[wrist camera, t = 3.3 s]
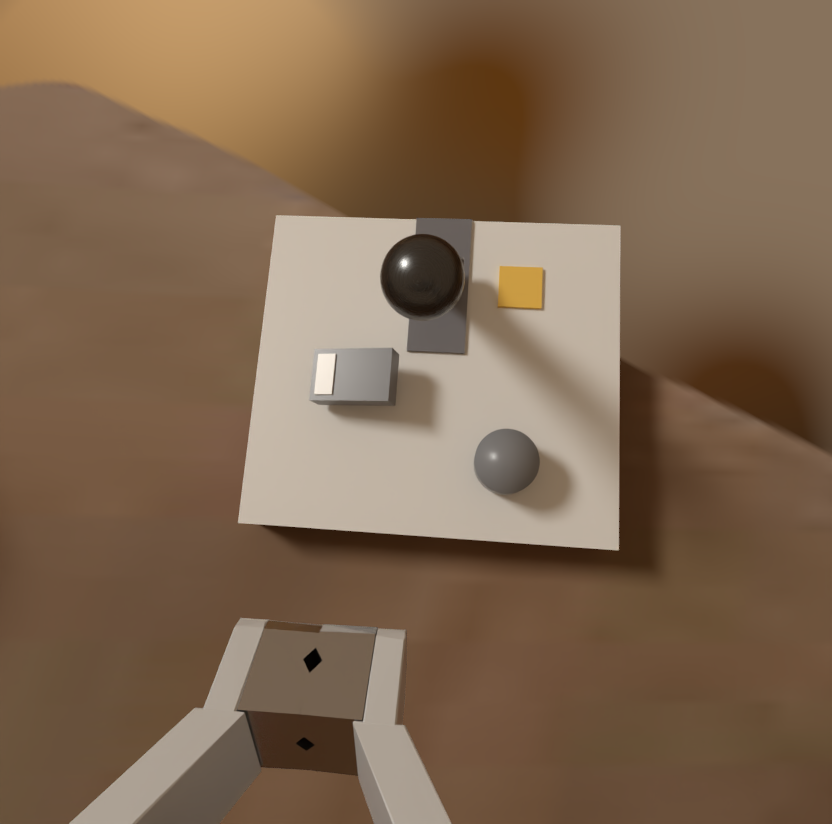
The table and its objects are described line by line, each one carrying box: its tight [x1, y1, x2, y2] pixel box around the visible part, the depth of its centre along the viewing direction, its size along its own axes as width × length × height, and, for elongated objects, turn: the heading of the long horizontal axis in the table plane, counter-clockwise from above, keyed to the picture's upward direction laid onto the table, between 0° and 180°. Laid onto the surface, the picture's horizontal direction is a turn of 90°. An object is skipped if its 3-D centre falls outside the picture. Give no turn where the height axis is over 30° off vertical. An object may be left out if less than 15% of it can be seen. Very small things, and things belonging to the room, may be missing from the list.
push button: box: [474, 429, 540, 495], centre depth 30 cm, size 3×3×2 cm
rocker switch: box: [309, 348, 399, 406], centre depth 31 cm, size 4×3×1 cm, turn 86°
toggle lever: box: [380, 234, 465, 321], centre depth 26 cm, size 3×3×14 cm
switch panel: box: [238, 215, 620, 550], centre depth 34 cm, size 20×18×3 cm
